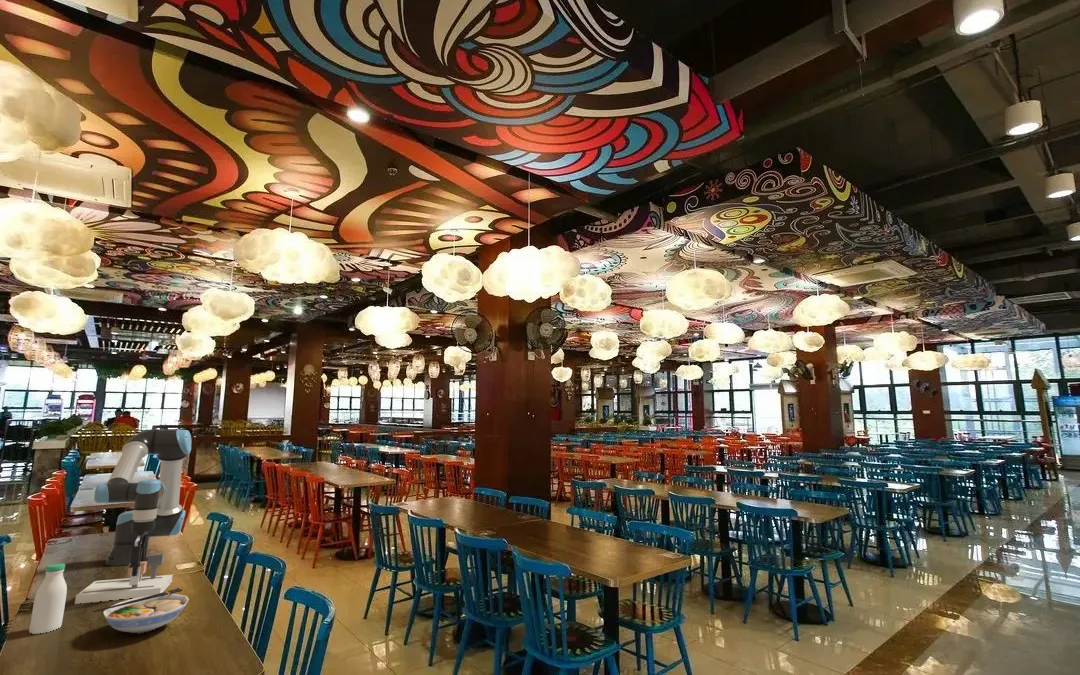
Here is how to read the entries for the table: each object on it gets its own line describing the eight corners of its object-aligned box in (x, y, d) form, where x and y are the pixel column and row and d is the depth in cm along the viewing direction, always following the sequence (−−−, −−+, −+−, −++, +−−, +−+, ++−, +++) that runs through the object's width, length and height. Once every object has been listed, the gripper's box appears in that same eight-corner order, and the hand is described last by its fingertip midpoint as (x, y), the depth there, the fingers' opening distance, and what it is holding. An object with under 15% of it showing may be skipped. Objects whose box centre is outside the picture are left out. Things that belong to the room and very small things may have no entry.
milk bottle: (67, 627, 168) (77, 563, 171) (37, 636, 160) (49, 569, 164) (52, 623, 170) (62, 560, 173) (22, 632, 163) (34, 566, 166)
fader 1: (128, 586, 198) (131, 562, 199) (143, 585, 200) (147, 561, 201) (125, 589, 195) (128, 564, 197) (141, 587, 197) (144, 563, 198)
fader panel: (94, 588, 204) (95, 580, 204) (171, 582, 214) (172, 574, 215) (74, 604, 188) (76, 595, 188) (159, 596, 198) (160, 587, 198)
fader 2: (147, 576, 210) (150, 554, 211) (161, 575, 212) (164, 553, 213) (144, 579, 207) (147, 555, 209) (159, 577, 209) (162, 554, 211)
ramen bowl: (111, 652, 151) (116, 622, 152) (82, 633, 163) (87, 606, 164) (202, 624, 172) (205, 599, 173) (171, 610, 184) (174, 586, 185)
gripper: (138, 516, 207) (129, 578, 203) (125, 524, 193) (115, 590, 189) (160, 515, 210) (152, 576, 206) (149, 523, 196) (140, 588, 192)
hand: (135, 582), depth 198 cm, fingers closed on fader 1, 3 cm apart
